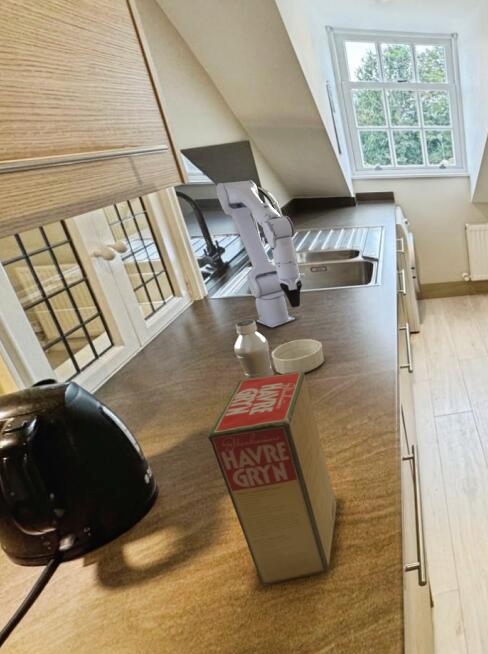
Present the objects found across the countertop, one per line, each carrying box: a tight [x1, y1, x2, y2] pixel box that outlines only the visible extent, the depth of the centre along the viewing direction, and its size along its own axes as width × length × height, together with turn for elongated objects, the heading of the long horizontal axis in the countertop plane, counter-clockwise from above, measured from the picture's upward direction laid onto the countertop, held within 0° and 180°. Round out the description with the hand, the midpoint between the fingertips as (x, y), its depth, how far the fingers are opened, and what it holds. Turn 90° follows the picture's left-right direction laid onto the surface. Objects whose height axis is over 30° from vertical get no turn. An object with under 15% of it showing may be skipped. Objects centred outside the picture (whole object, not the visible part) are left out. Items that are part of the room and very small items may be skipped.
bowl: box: [270, 338, 325, 374], centre depth 118 cm, size 12×12×4 cm
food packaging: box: [207, 371, 337, 586], centre depth 63 cm, size 13×9×25 cm
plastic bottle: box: [233, 319, 275, 380], centre depth 98 cm, size 6×7×20 cm
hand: (295, 306), depth 132 cm, fingers closed
